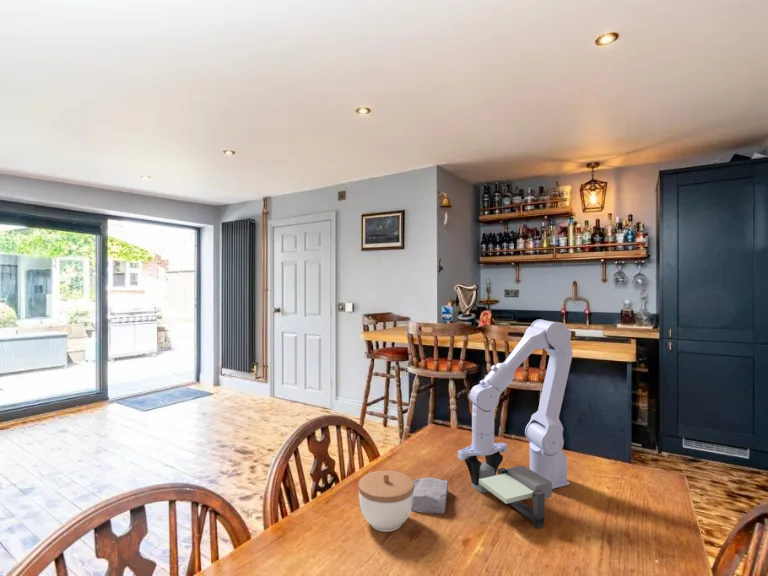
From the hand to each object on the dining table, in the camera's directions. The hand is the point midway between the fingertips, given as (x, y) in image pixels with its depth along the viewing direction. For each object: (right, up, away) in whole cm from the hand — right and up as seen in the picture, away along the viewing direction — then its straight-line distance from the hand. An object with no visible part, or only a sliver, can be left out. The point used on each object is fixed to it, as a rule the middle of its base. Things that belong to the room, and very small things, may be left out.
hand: (482, 482), depth 110 cm
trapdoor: (+5, +3, -12) cm, 13 cm away
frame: (+6, -1, -12) cm, 13 cm away
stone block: (-15, -2, -6) cm, 17 cm away
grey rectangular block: (0, -1, 0) cm, 1 cm away
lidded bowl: (-26, -2, -16) cm, 30 cm away
